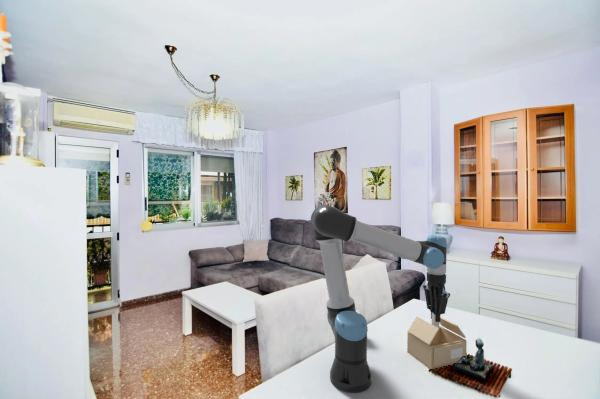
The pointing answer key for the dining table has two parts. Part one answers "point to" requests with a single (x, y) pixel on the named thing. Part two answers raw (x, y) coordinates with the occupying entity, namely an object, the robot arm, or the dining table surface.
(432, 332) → the near flap
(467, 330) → the dining table surface
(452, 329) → the far flap
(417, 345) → the carton
